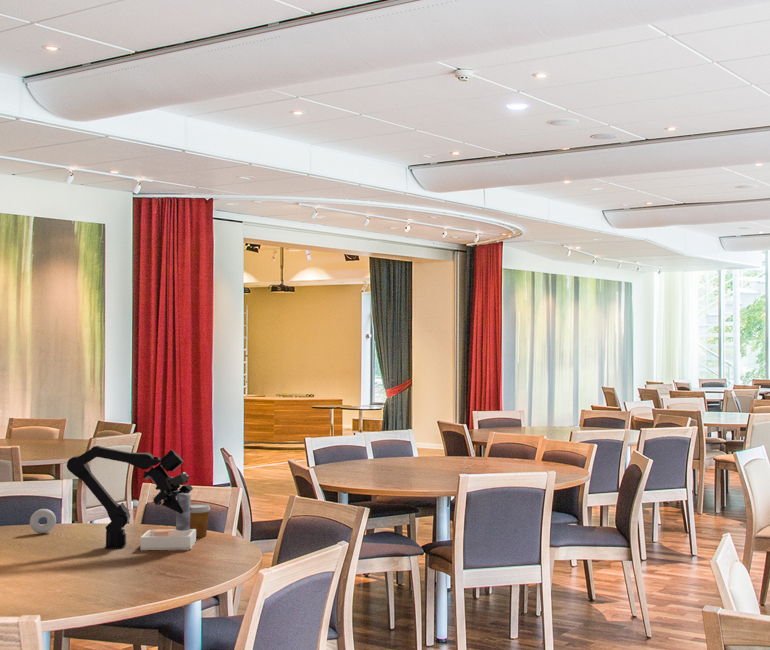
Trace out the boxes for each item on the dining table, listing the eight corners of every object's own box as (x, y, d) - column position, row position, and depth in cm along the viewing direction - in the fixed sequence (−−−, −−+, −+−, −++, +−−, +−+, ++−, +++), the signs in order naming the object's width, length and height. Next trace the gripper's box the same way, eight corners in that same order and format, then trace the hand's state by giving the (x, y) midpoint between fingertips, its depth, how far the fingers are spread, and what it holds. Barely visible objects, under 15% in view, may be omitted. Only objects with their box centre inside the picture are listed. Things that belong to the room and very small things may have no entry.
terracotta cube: (154, 545, 314) (154, 531, 314) (156, 542, 319) (156, 529, 319) (167, 545, 314) (167, 531, 314) (170, 542, 319) (170, 529, 319)
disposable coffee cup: (213, 533, 340) (213, 503, 341) (206, 538, 331) (206, 507, 331) (190, 533, 341) (190, 503, 342) (182, 538, 332) (182, 507, 332)
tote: (140, 551, 309) (140, 537, 309) (148, 543, 323) (148, 529, 323) (190, 550, 310) (190, 536, 310) (196, 542, 324) (196, 529, 324)
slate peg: (175, 530, 312) (176, 495, 312) (176, 528, 317) (177, 493, 317) (189, 530, 313) (190, 495, 313) (189, 527, 318) (190, 493, 318)
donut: (29, 535, 339) (29, 510, 339) (29, 533, 342) (29, 508, 343) (56, 533, 343) (56, 508, 343) (55, 531, 346) (56, 507, 346)
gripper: (161, 468, 308) (186, 501, 304) (189, 463, 326) (213, 493, 322) (142, 488, 311) (167, 521, 306) (170, 482, 328) (194, 513, 324)
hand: (186, 511), depth 315 cm, fingers closed on slate peg, 5 cm apart
